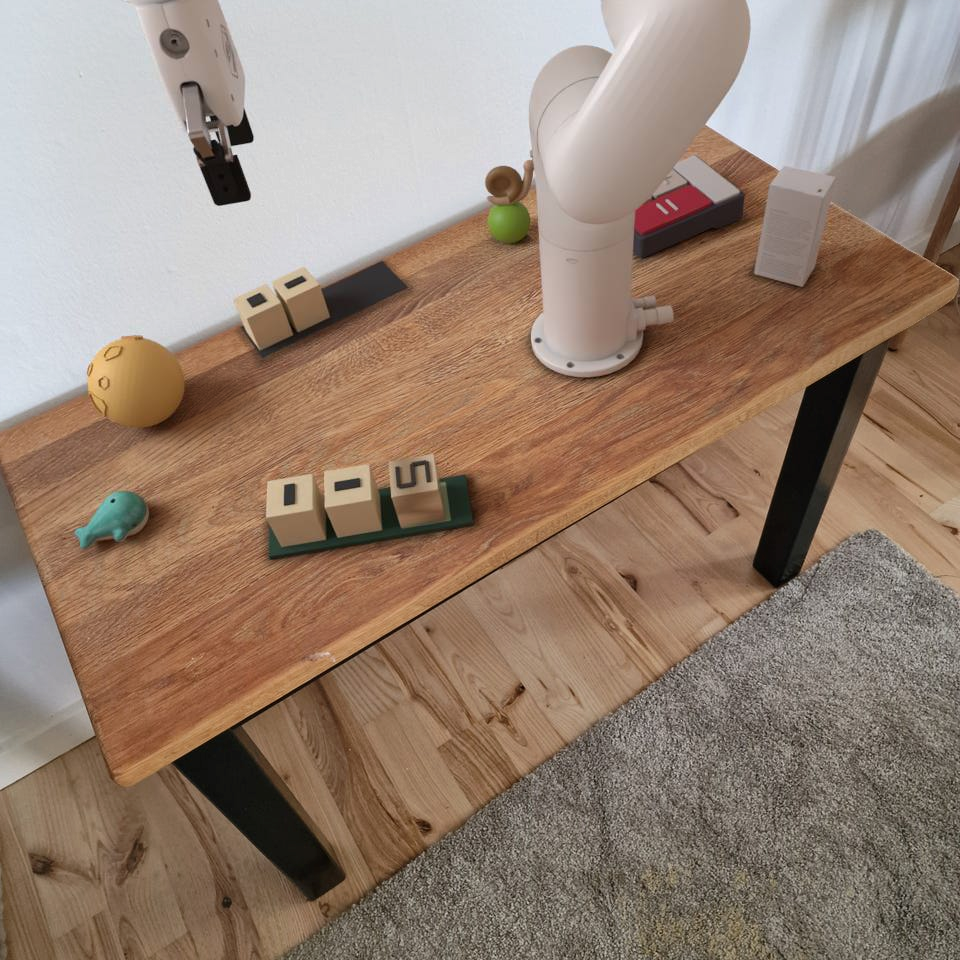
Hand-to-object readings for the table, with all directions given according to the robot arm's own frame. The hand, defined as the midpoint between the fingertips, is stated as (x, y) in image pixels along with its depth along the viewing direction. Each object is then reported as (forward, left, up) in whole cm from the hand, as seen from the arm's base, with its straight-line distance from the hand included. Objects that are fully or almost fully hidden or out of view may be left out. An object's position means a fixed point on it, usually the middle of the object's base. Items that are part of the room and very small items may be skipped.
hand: (235, 171), depth 74 cm
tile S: (-11, +21, -26) cm, 35 cm away
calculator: (-47, -19, -27) cm, 57 cm away
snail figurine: (-27, -20, -27) cm, 42 cm away
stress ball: (+18, +1, -27) cm, 32 cm away
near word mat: (-6, +21, -26) cm, 34 cm away
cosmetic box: (-57, -5, -27) cm, 63 cm away
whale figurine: (+20, +17, -27) cm, 38 cm away
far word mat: (-2, -12, -26) cm, 29 cm away
